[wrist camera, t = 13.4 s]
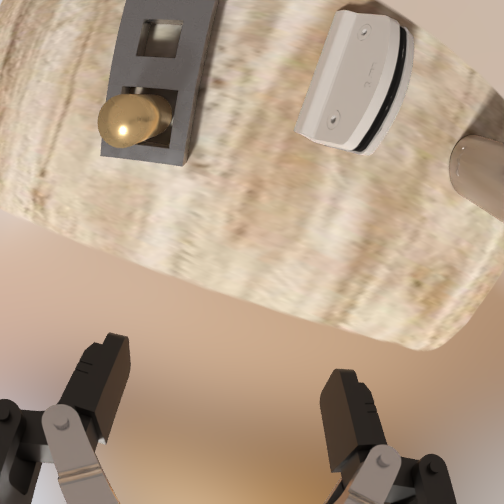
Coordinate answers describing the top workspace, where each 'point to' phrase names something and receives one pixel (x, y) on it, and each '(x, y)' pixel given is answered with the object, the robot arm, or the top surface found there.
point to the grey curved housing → (357, 82)
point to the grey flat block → (162, 69)
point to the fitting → (133, 118)
